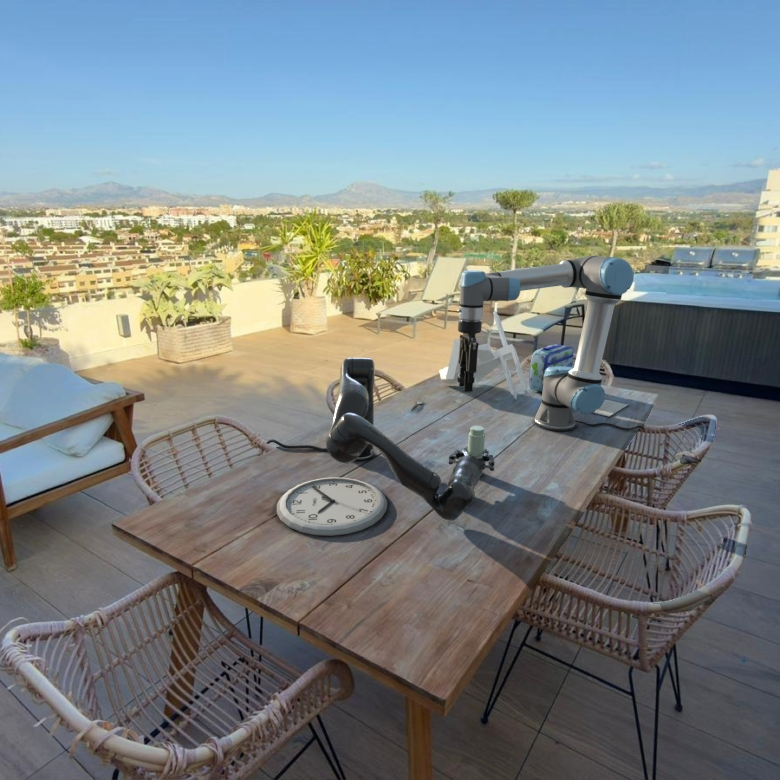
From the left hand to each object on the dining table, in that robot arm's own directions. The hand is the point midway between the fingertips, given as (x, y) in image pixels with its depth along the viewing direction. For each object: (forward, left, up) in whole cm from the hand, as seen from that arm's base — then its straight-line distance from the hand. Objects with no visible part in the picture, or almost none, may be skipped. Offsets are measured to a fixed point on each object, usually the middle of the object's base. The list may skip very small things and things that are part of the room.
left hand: (476, 450), depth 163 cm
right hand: (-8, +16, +15) cm, 23 cm away
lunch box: (+18, +100, -7) cm, 102 cm away
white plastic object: (-13, +82, -7) cm, 83 cm away
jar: (0, -3, -7) cm, 7 cm away
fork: (-34, +52, -7) cm, 63 cm away
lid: (-8, +16, +19) cm, 26 cm away
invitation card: (+40, +81, -7) cm, 91 cm away
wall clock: (-33, -36, -7) cm, 49 cm away
